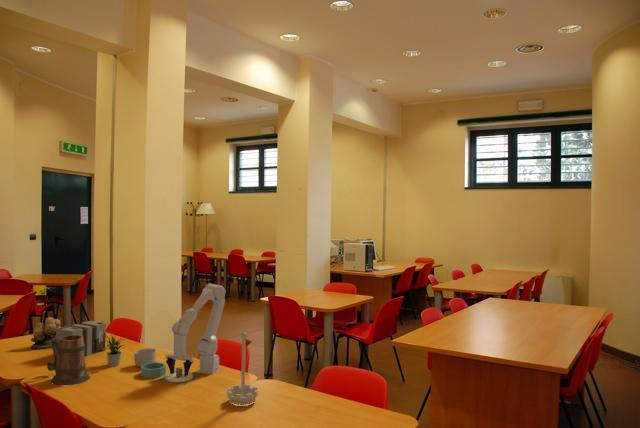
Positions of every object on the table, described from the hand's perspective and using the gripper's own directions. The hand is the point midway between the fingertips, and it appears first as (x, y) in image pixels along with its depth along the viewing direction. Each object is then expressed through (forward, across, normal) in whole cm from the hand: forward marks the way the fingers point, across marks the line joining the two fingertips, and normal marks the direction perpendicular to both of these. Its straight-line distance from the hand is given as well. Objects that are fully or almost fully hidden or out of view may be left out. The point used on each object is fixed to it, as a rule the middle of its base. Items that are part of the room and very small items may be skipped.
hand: (179, 374), depth 238 cm
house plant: (+2, -44, +6) cm, 44 cm away
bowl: (+2, -14, 0) cm, 15 cm away
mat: (+2, 0, 0) cm, 2 cm away
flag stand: (+2, +41, -16) cm, 44 cm away
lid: (+1, 0, 0) cm, 1 cm away
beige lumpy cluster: (+2, -101, +22) cm, 103 cm away
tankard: (+2, -50, -18) cm, 53 cm away
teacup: (+2, -27, +12) cm, 30 cm away
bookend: (+2, -73, +16) cm, 74 cm away
